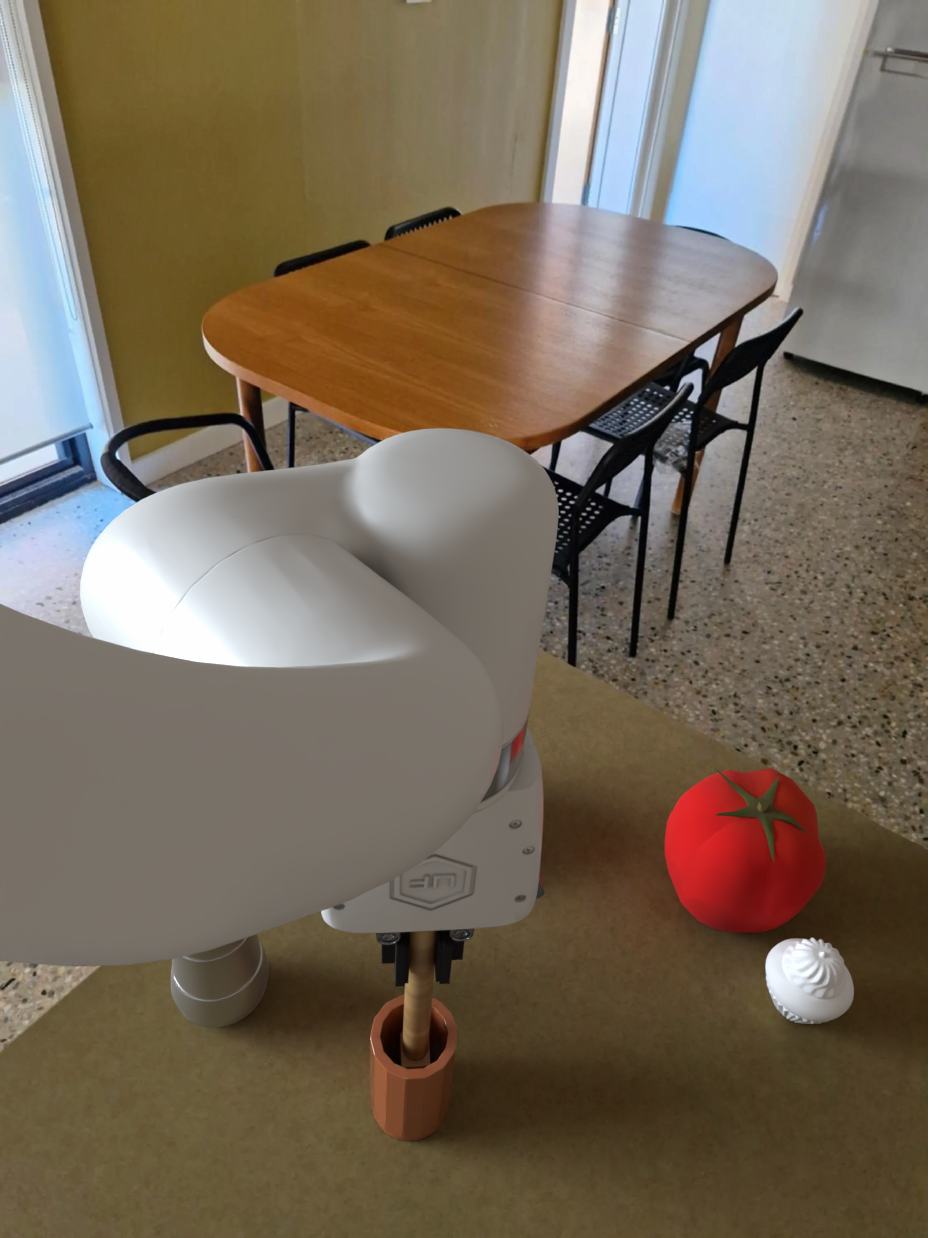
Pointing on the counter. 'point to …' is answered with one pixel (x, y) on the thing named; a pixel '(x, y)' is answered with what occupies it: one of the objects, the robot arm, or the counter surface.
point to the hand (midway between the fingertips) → (420, 959)
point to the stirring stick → (418, 1001)
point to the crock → (410, 1073)
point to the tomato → (744, 850)
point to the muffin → (808, 981)
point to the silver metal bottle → (220, 982)
